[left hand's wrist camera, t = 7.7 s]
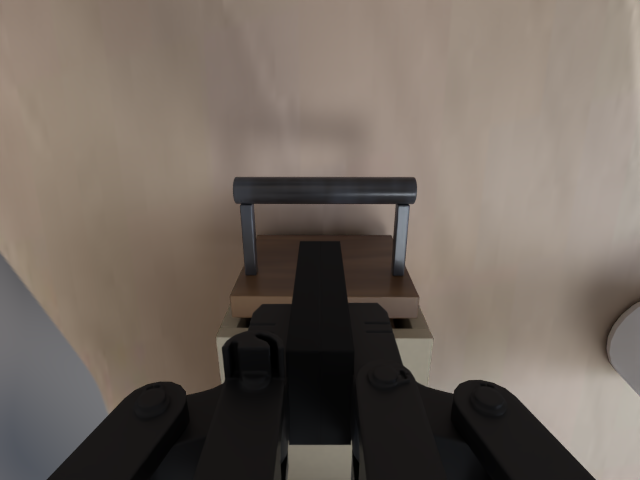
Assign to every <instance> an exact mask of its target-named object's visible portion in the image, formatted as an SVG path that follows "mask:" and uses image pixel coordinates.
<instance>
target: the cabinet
mask: <svg viewBox="0 0 640 480" xmlns="http://www.w3.org/2000/svg"><path fill="white" fill-rule="evenodd" d="M250 321H251V318H233V317H232V313H231V304H230V306H229V308H228V311H227V313H226V315H225V317H224V320H223V322H222V324H221V327H220V329H219V331H218V334H217V336H216V344H217V353H218V361H219V370H220V379H221V384H223V383H224V381H225V374H224V365H223V356H222V346H223V345H224V344H225V342H226V341H227V340H228V339H230V338H231V337H233V336H234V335H236V334H239V333H242V332H245V331H248V328H249V326H250ZM393 321H394V324H395V328H396V329H392V330H393V333H394V336H395V340H396V343H397V346H398V350H399V353H400V356H401V360H402V363H403V366H405V367H406V368H407V369H409V370H410V371H411V373H412V374H413V376H414V378H415V380H416V381H417V382H418V383H420V384H422V385H424V386H426V387H428V379H429V371H430V363H431V355H432V347H433V337H432V334H431V332H430V330H429V327H428V325H427V323H426V321H425V318H424V316H423V314H422V311H421V309H420V307H419V305H418V315H417V318H393ZM288 465H289V466H288V479H287V480H351V465H352V441H351V445H289V443H288Z"/></svg>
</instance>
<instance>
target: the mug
mask: <svg viewBox="0 0 640 480" xmlns="http://www.w3.org/2000/svg"><path fill="white" fill-rule="evenodd" d="M606 348H607V353H608V358H609V361H610V363H611V365H612V366H613V368H614V369H615V370H616V371H617V372H618V373H619V375H620V376H621V377H622V378H623V379H624V380H625V381H626V382H627V383H628V384H629V385H630V386H631V387H632V389H633V390H634V391H635V392H636V393H637V394H638V395H639V396H640V301H639V302H637V303H636V304H634V305H632V306H631V307H630V308H629V309H628V310H626V311H625V312H624V313H623V314H622V315H621V316H620V317H619V319H618V320H617V321H616V322H615V324H614V325H613V327H612V329H611V331H610V333H609V336H608V340H607V347H606Z"/></svg>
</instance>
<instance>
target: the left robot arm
mask: <svg viewBox="0 0 640 480" xmlns="http://www.w3.org/2000/svg"><path fill="white" fill-rule="evenodd" d="M222 356H223V365H224V374H225V381H224V383H223V384H221V385H219V386H217V387H215V388H213V389H210V390H207V391H203V392H199V393H195V394H191V395H186V391H185V390H184V389H183V388H182V387H181V385H178V384H175V383H173V382H156V383H151V384H147V385H145V386H143V387H141V388H139V389H136V390H134V391H133V392H132V393H131V394H129V395H128V396H127V397H126V398H124V400H123V401H122V402H121V403H120V404H119V405H118V406H117V407H116V408H115V409H114V410H113V411H112V412H111V413H110V414H109V415H108V416H107V417H106V418H105V419H104V420H103V421H102V423H101V424H100V425H99V426H98V427H97V428H96V429H95V430H94V431H93V432H92V433H91V434H90V435H89V436H88V437H87V438H86V439H85V440H84V441H83V442H82V443H81V444H80V446H79V447H78V448H77V449H76V450H75V451H74V452H73V453H72V454H71V455H70V456H69V457H68V458H67V459H66V460H65V461H64V462H63V463H62V464H61V465H60V466H59V468H57V470H56V471H55V472H54V473H53V474H52V475H51V476H50V477H49V478H48V479H47V480H287V479H288V466H289V465H288V443H289V445H351V441H352V465H351V480H596V479H595V478H594V477H593V476H592V475H591V474H590V473H589V472H588V471H587V470H586V469H585V468H584V467H583V466H582V465H581V464H580V463H579V462H578V461H577V460H576V459H575V458H574V457H573V456H572V455H571V453H570V452H569V451H568V450H567V449H566V448H565V447H564V446H563V445H562V444H561V443H560V442H559V441H558V440H557V439H556V438H555V437H554V436H553V435H552V434H551V433H550V432H549V431H548V430H547V429H546V428H545V426H544V425H543V424H542V423H541V422H540V421H539V420H538V419H537V418H536V417H535V416H534V415H533V414H532V413H531V412H530V411H529V410H528V409H527V408H526V407H525V406H524V405H523V404H522V403H521V402H520V401H519V400H518V398H517V397H516V396H514V395H513V394H512V393H510V392H509V391H508V390H507V389H505V388H503V387H501V386H499V385H497V384H495V383H492V382H487V381H483V380H468V381H466V382H463V383H461V384H459V385H458V387H457V388H456V389H455V390H454V394H452V393H448V392H443V391H439V390H435V389H432V388H429V387H426V386H424V385H422V384H420V383H418V382H417V381H416V380H415V378H414V376H413V374H412V373H411V371H410V370H409V369H407V368H406V367H405V366H403V363H402V360H401V356H400V353H399V350H398V346H397V343H396V340H395V336H394V333H393V330H392V326H391V324H390V320H389V316H388V313H387V311H386V310H385V309H384V308H383V307H382V306H381V305H380V304H378V303H348V298H347V290H346V282H345V275H344V267H343V259H342V252H341V244H340V241H300V244H299V252H298V259H297V267H296V275H295V282H294V290H293V298H292V304H262V305H261V306H260V307H259V308H258V309H257V310H256V311H254V312H253V314H252V318H251V321H250V326H249V328H248V331H245V332H242V333H239V334H236V335H234V336H233V337H231V338H230V339H228V340H227V341H226V342H225V344H224V345H223V346H222Z"/></svg>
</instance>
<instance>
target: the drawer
mask: <svg viewBox="0 0 640 480" xmlns="http://www.w3.org/2000/svg"><path fill="white" fill-rule="evenodd" d="M416 195H417V183H416V179H415V178H414V177H235V179H234V182H233V197H234V201H235V203H236V204H241V205H240V213H241V225H242V238H243V251H244V267H243V269H242V271H241V273H240V275H239V278H238V280H237V282H236V284H235V286H234V289H233V291H232V293H231V295H230V302H231V313H232V317H233V318H252V314H253V312H254V311H256V310H257V309H258V308H259V307H260V306H261V305H262V304H292V298H293V290H294V282H295V275H296V267H297V259H298V252H299V244H300V241H340V244H341V252H342V259H343V267H344V275H345V282H346V290H347V298H348V303H378V304H380V305H381V306H382V307H383V308H384V309H385V310H386V311H387V313H388V316H389V320H390V324H391V326H392V329H396V328H395V324H394V321H393V318H417V315H418V305H419V295H418V293H417V291H416V289H415V287H414V284H413V282H412V280H411V278H410V276H409V273H408V271H407V269H406V267H405V256H406V244H407V232H408V220H409V208H410V206H409V204H414V203H415V200H416ZM254 204H396V208H395V222H394V236H393V238H392V236H391V235H258V236H257V238H256V231H255V215H254Z"/></svg>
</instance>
